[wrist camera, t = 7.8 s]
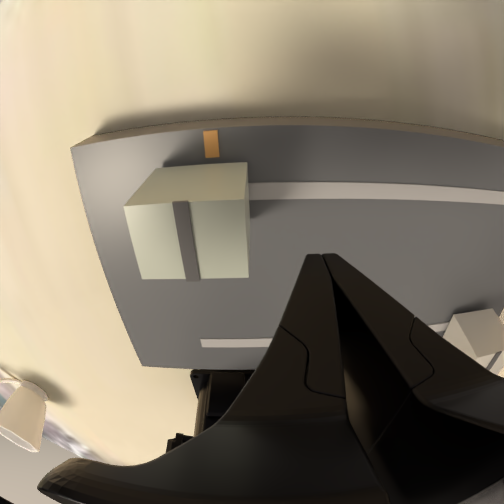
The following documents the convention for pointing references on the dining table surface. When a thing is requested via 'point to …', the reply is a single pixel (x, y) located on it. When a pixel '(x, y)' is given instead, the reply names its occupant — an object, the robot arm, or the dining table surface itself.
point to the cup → (24, 415)
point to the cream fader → (479, 337)
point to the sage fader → (192, 222)
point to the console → (303, 225)
